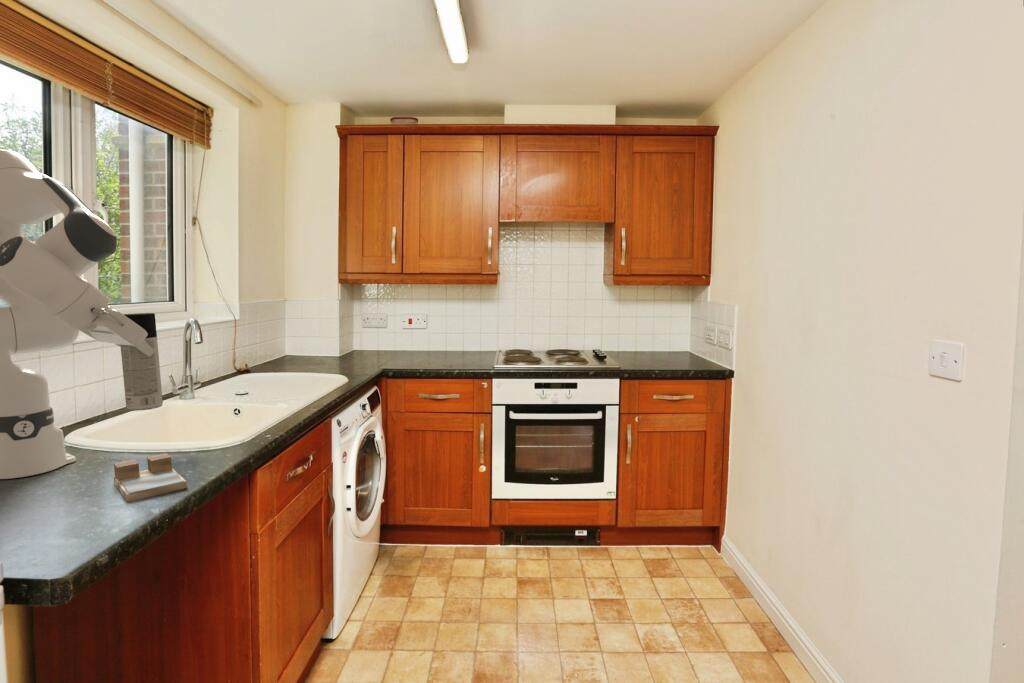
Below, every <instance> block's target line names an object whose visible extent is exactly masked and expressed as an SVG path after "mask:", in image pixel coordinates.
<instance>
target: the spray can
mask: <svg viewBox="0 0 1024 683" xmlns="http://www.w3.org/2000/svg"><path fill="white" fill-rule="evenodd" d="M122 314H123V315H125V316H126V317H128V318H129V319H131V320H132V321H133V322H135V323H136V324H138V325H139V326H140V327H142V328H143V329H144V330H145V331H146V332H147V333H148V335H147V337H146V338H145V339H144V340H145V341H146V342H147V343H148V345H149V346H151V347H152V348H153V349H154V350H155V352H154V353H153V354H152V355H151V356H145V355H144V354H143V353H141V352H140V350H138V349H137V348H136V347H133V346H127V345H121V344H120V345H121V347H120V353H121V354H120V355H121V366H122V376H123V386H124V387H123V388H124V398H125V407H126V410H128V411H130V412H133V411H134V412H137V411H148V410H154V409H158V408H161V407H162V406H163V403H164V402H163V390H162V380H161V379H162V378H161V368H160V355H159V343H158V334H157V333H158V332H157V322H156V313H154V312H153V313H152V312H144V313H143V312H142V313H140V312H139V313H138V312H137V313H122ZM121 326H123V325H121Z"/></svg>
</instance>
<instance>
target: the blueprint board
mask: <svg viewBox="0 0 1024 683" xmlns="http://www.w3.org/2000/svg"><path fill="white" fill-rule="evenodd" d="M146 460H147V469H144V470H140V466H139V464H140V463H139V462H138V461H137V459H130V460H125V461H119V462H114V463H113V468H114V469H113V470H114V476H113V484H114V486H115V487H116V488H117V490H118V491H119V492H120V494H121V495H122V496H123V498H124V499H125V501H126V502H132V501H136V500H141V499H145V498H150V497H155V496H159V495H163V494H167V493H170V492H176V491H179V490H185V489H188V484H187V482H188V481H187V480H186V479H185V478H184V477H183V476H181V474H180V473H178V472H177V471H176V470H175V469H174V468H173V463H172V456H171V455H169V454H168V453H167V452H166V453H160V454H155V455H149V456H147V457H146ZM184 488H185V489H184Z"/></svg>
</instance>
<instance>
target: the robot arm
mask: <svg viewBox="0 0 1024 683" xmlns="http://www.w3.org/2000/svg"><path fill="white" fill-rule="evenodd" d="M59 214H62V215H63V218H62V219H61V220H60V221H59V222H58V223H57V224H55V225H54V226H53V227H52V228H50V229H49V230H47V231H46V232H44V233H43V234H42V235H40V236H39V237H38V238H36V239H35V240H33V241H32V240H31V239H29V238H26V237H24V232H23V227H22V225H35V224H40V223H43V222H46V221H47V220H49V219H51V218H53V217H55V216H56V215H59ZM117 244H118V237H117V234H116V233H115V232H114V230H113V229H112V227H111V226H110V225H109V224H108V223H106V221H105V220H103V219H102V218H100V217H99V216H97V215H96V214H95V213H94V212H93V211H92V210H91V209H90V208H89V207H88V206H87V205H86V204H85V203H84V202H83V201H82V200H81V199H80V198H79V197H78V196H77V195H76V194H75V193H74V192H72V190H70V189H69V188H68V187H66V186H65V184H63V183H61V182H60V181H59V180H56V179H55V178H53V177H50V176H48V175H47V174H44V173H42V172H39V171H38V170H37V168H36V167H35V166H34V165H33V164H32V163H31V162H30V161H29V160H28V159H27V157H24V156H23V155H21V154H20V153H19V152H16V151H12V150H9V149H0V300H2V301H4V302H6V303H7V304H8V306H5V307H4V306H2V307H1V306H0V480H9V479H17V478H24V477H29V476H34V475H35V476H36V475H39V474H44V473H47V472H50V471H54V470H56V469H59V468H60V467H63V466H65V465H67V464H71V463H75V462H76V461H77V458H76V456H75V455H72V454H70V453H68V452H66V451H67V450H66V444H65V437H64V432H63V430H62V429H61V428H59V427H58V426H56V425H55V424H54V423H55V412H54V410H53V408H52V407H51V404H50V393H49V388H48V386H49V385H48V379H47V378H46V376H45V375H44V374H42V373H41V372H39V371H37V370H34V369H33V368H28V367H26V366H21V365H17V364H15V363H13V361H12V359H11V356H12V355H16V354H29V353H39V352H49V351H53V350H58V349H62V348H66V347H69V346H72V345H73V343H75V341H77V338H78V337H79V333H80V332H82V333H84V334H85V335H87V336H88V337H90V338H92V339H94V340H96V341H98V342H101V343H107V344H114V345H115V346H117V347H120V348H121V345H127V346H133V347H136V348H137V349H138V350H140V352H141V353H143V354H144V355H145V356H151V355H152V354H153V353H154V352H155V350H154V349H153V348H152V347H151V346H149V345H148V343H147V342H146V341H145V340H144V339H145V338H146V337H147V335H148V333H147V332H146V331H145V330H144V329H143V328H142V327H140V326H139V325H138V324H136V323H135V322H133V321H132V320H131V319H129V318H128V317H126V316H125V315H123V314H124V313H122V312H121V311H119V310H116V309H112V307H111V306H110V305H109V303H110V300H111V298H110V297H109V296H107V294H105V293H104V292H102V291H101V290H100V289H99V288H97V287H96V286H95V285H93V284H92V283H91V282H89V281H88V280H87V279H84V278H83V277H82V276H83V275H84V274H85V273H86V272H88V271H89V270H90V269H92V268H93V267H94V266H96V265H97V264H98V263H101V262H103V261H104V260H106V259H108V258H109V257H110V256H112V255H113V254H115V253H116V250H117V247H118V246H117ZM81 277H82V278H81ZM121 325H123V326H121ZM120 344H121V345H120Z"/></svg>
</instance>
